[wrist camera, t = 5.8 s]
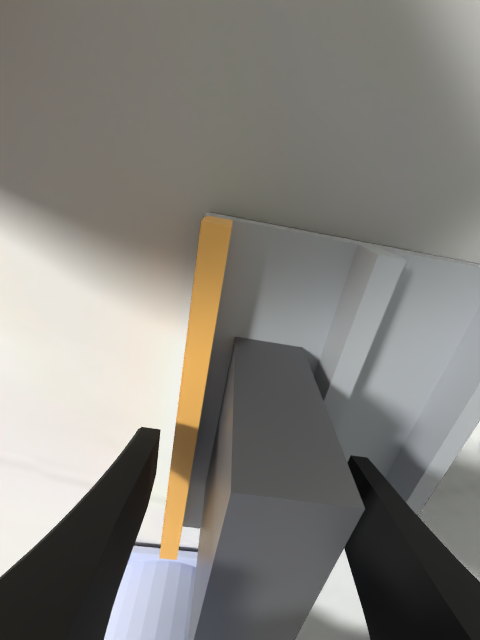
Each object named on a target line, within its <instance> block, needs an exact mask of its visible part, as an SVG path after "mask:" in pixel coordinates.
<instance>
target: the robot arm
mask: <svg viewBox="0 0 480 640" xmlns="http://www.w3.org/2000/svg"><path fill="white" fill-rule="evenodd" d="M159 439H160V430H159V429H152V428H145V427H141V428H140V429H138V430H137V432H136V433H135V435H134V436H133V438H132V439H131V441H130V442H129V443H128V445H127V446H126V447H125V449H124V450H123V451H122V453H121V454H120V455H119V456H118V458H117V459H116V460H115V462H114V463H113V464H112V465H111V466H110V467H109V469H108V470H107V471H106V472H105V473H104V475H103V476H102V477H101V478H100V479H99V480H98V482H97V483H96V484H95V485H94V486H93V487H92V488H91V490H90V491H89V492H88V493H87V494H86V495H85V496H84V497H83V498H82V499H81V500H80V501H79V502H78V504H77V505H76V506H75V507H74V508H73V509H72V510H71V511H70V512H69V513H68V514H67V515H66V516H65V517H64V518H63V519H62V520H61V521H60V522H59V523H58V524H57V525H56V526H55V527H54V528H53V529H52V530H51V531H50V532H49V533H48V534H47V535H46V536H45V537H44V538H43V539H42V540H41V541H40V542H39V543H38V544H37V545H35V546H34V547H33V548H32V549H31V550H30V551H29V552H28V553H27V554H26V555H25V556H23V557H22V558H21V559H20V560H19V561H18V562H17V563H16V564H15V565H13V566H12V567H11V568H10V569H9V570H8V571H7V572H6V573H5V574H3V575H2V576H1V577H0V640H188V636H189V627H190V618H191V609H192V600H193V591H194V582H195V573H196V564H197V555H198V552H191V551H181V550H178V555H177V560H171V559H161V558H159V556H160V548H152V547H143V546H134V544H135V541H136V538H137V535H138V532H139V530H140V527H141V524H142V521H143V518H144V515H145V512H146V510H147V507H148V503H149V499H150V495H151V491H152V487H153V483H154V479H155V475H156V469H157V459H158V449H159ZM347 463H348V466H349V468H350V471H351V474H352V476H353V479H354V481H355V484H356V487H357V489H358V492H359V494H360V497H361V499H362V502H363V505H364V507H365V510H364V512H363V514H362V516H361V517H360V519H359V521H358V523H357V525H356V527H355V529H354V530H353V532H352V534H351V536H350V538H349V540H348V541H347V543H346V545H345V547H344V548H345V552H346V555H347V558H348V562H349V565H350V568H351V572H352V575H353V578H354V582H355V585H356V588H357V592H358V595H359V598H360V602H361V605H362V608H363V612H364V616H365V620H366V623H367V627H368V631H369V635H370V640H480V582H479V581H478V580H477V579H476V578H475V577H474V576H473V575H472V574H471V573H470V572H469V571H468V570H467V569H466V568H465V567H464V566H463V565H462V564H461V563H460V562H459V561H458V560H457V559H456V558H455V556H454V555H453V554H452V553H451V552H450V551H449V550H448V549H447V548H446V547H445V546H444V545H443V544H442V543H441V542H440V540H439V539H438V538H437V537H436V536H435V535H434V534H433V533H432V532H431V531H430V529H429V528H428V527H427V526H426V525H425V524H424V523H423V522H422V520H421V519H420V518H419V517H418V516H417V515H416V514H415V512H414V511H413V510H412V509H411V508H410V507H409V506H408V504H407V503H406V502H405V501H404V500H403V499H402V497H401V496H400V495H399V494H398V493H397V491H396V490H395V489H394V488H393V487H392V485H391V484H390V483H389V482H388V481H387V480H386V478H385V477H384V476H383V475H382V474H381V472H380V471H379V470H378V469H377V468H376V467H375V465H374V464H373V463H372V462H371V461H370V460H369V459H368V457H360V456H353V455H351V456H350V458H349V460H348V462H347Z"/></svg>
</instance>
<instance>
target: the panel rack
mask: <svg viewBox="0 0 480 640" xmlns="http://www.w3.org/2000/svg"><path fill="white" fill-rule="evenodd" d="M235 337H242V338H248V339H254V340H260V341H266V342H273V343H279V344H285V345H291V346H298V347H303V350H304V352H305V355H306V358H307V360H308V363H309V365H310V368H311V371H312V373H313V376H314V378H315V381H316V383H317V386H318V389H319V391H320V394H321V396H322V399H323V401H324V404H325V407H326V409H327V412H328V414H329V417H330V420H331V422H332V425H333V427H334V430H335V432H336V435H337V438H338V440H339V443H340V445H341V448H342V450H343V453H344V456H345V458H346V461H347V462H348V460H349V458H350V456H351V455H353V456H360V457H368V459H369V460H370V461H371V462H372V463H373V464H374V465H375V467H376V468H377V469H378V470H379V471H380V472H381V474H382V475H383V476H384V477H385V478H386V480H387V481H388V482H389V483H390V484H391V485H392V487H393V488H394V489H395V490H396V491H397V493H398V494H399V495H400V496H401V497H402V499H403V500H404V501H405V502H406V503H407V504H408V506H409V507H410V508H411V509H412V510H413V511H414V512H415V514H416V515H417V516H418V514H419V513H420V511H421V510H422V508H423V507H424V505H425V504H426V502H427V500H428V499H429V497H430V496H431V494H432V493H433V491H434V490H435V488H436V487H437V485H438V484H439V482H440V481H441V479H442V478H443V476H444V475H445V473H446V472H447V470H448V469H449V467H450V466H451V464H452V462H453V461H454V459H455V458H456V456H457V455H458V453H459V452H460V450H461V449H462V447H463V446H464V444H465V443H466V441H467V440H468V438H469V437H470V435H471V434H472V432H473V431H474V429H475V428H476V426H477V424H478V423H479V421H480V264H476V263H471V262H466V261H461V260H456V259H450V258H445V257H440V256H435V255H429V254H424V253H419V252H414V251H409V250H403V249H398V248H393V247H388V246H383V245H377V244H372V243H367V242H362V241H357V240H351V239H346V238H341V237H336V236H330V235H325V234H320V233H315V232H310V231H304V230H299V229H294V228H289V227H284V226H278V225H273V224H268V223H263V222H257V221H252V220H247V219H242V218H237V217H231V216H226V215H221V214H216V213H211V212H206V213H205V214H204V215H203V219H202V220H201V226H200V234H199V242H198V250H197V258H196V266H195V274H194V283H193V291H192V299H191V307H190V315H189V323H188V331H187V339H186V347H185V355H184V363H183V371H182V379H181V387H180V395H179V403H178V411H177V419H176V427H175V435H174V443H173V451H172V459H171V467H170V476H169V484H168V492H167V500H166V508H165V516H164V524H163V532H162V540H161V548H160V556H159V558H161V559H171V560H177V555H178V549H179V543H180V537H181V531H182V526H184V527H193V528H201V520H202V511H203V502H204V493H205V485H206V480H207V475H208V470H209V465H210V460H211V455H212V450H213V445H214V440H215V435H216V430H217V424H218V419H219V414H220V409H221V404H222V399H223V394H224V389H225V384H226V379H227V374H228V369H229V364H230V359H231V354H232V349H233V344H234V339H235Z"/></svg>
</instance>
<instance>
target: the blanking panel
mask: <svg viewBox="0 0 480 640" xmlns="http://www.w3.org/2000/svg"><path fill="white" fill-rule="evenodd" d="M364 510H365V507H364V505H363V502H362V499H361V497H360V494H359V492H358V489H357V487H356V484H355V481H354V479H353V476H352V474H351V471H350V468H349V466H348V463H347V461H346V458H345V456H344V453H343V450H342V448H341V445H340V443H339V440H338V438H337V435H336V432H335V430H334V427H333V425H332V422H331V420H330V417H329V414H328V412H327V409H326V407H325V404H324V401H323V399H322V396H321V394H320V391H319V389H318V386H317V383H316V381H315V378H314V376H313V373H312V371H311V368H310V365H309V363H308V360H307V358H306V355H305V352H304V350H303V347H298V346H291V345H285V344H279V343H273V342H266V341H260V340H254V339H248V338H242V337H235V339H234V344H233V349H232V354H231V359H230V364H229V369H228V374H227V379H226V384H225V389H224V394H223V399H222V404H221V409H220V414H219V419H218V424H217V430H216V435H215V440H214V445H213V450H212V455H211V460H210V465H209V470H208V475H207V480H206V485H205V493H204V502H203V511H202V520H201V529H200V538H199V546H198V555H197V564H196V573H195V582H194V591H193V600H192V609H191V618H190V627H189V636H188V640H295V638H296V636H297V634H298V632H299V630H300V629H301V627H302V625H303V623H304V621H305V619H306V617H307V616H308V614H309V612H310V610H311V608H312V606H313V604H314V603H315V601H316V599H317V597H318V595H319V593H320V592H321V590H322V588H323V586H324V584H325V582H326V580H327V579H328V577H329V575H330V573H331V571H332V569H333V567H334V566H335V564H336V562H337V560H338V558H339V556H340V554H341V553H342V551H343V549H344V547H345V545H346V543H347V541H348V540H349V538H350V536H351V534H352V532H353V530H354V529H355V527H356V525H357V523H358V521H359V519H360V517H361V516H362V514H363V512H364Z"/></svg>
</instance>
